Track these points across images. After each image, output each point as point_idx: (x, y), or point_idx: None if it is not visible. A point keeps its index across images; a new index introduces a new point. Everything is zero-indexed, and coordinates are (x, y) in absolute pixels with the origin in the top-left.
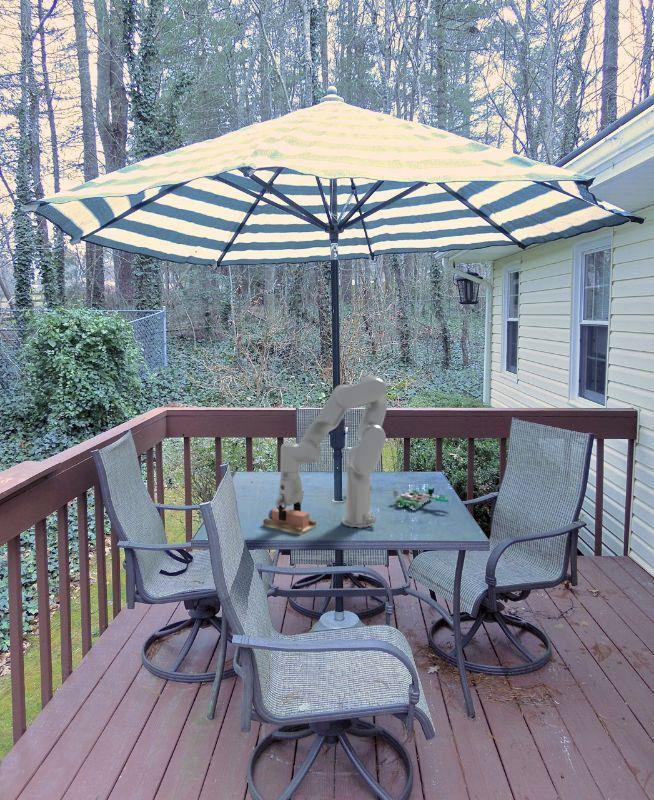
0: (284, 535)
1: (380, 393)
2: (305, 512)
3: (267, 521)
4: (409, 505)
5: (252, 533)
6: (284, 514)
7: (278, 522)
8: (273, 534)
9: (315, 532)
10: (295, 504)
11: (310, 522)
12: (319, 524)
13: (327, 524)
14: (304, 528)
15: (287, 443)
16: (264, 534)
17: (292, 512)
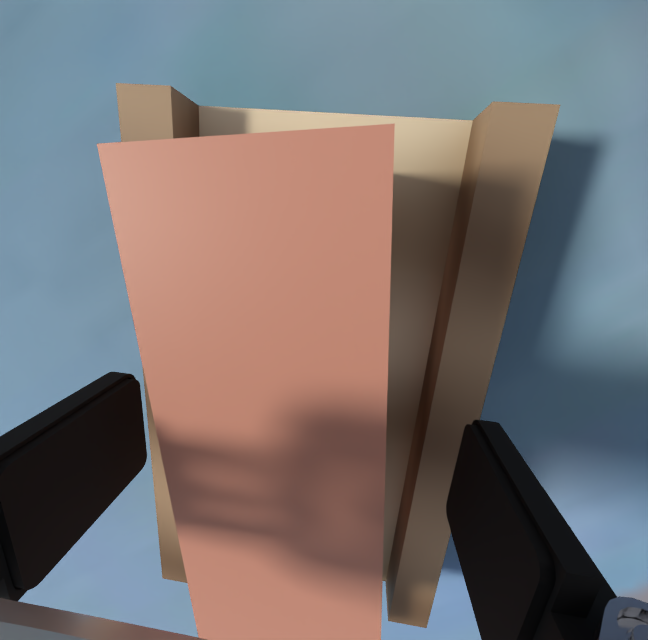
0: (584, 299)
1: None
2: (131, 236)
3: (435, 582)
4: None
5: (633, 568)
6: (543, 515)
7: (434, 485)
8: (594, 409)
9: (329, 7)
10: (24, 554)
11: None
12: (84, 130)
13: (22, 38)
14: None
15: None
16: (624, 478)
17: (282, 449)
